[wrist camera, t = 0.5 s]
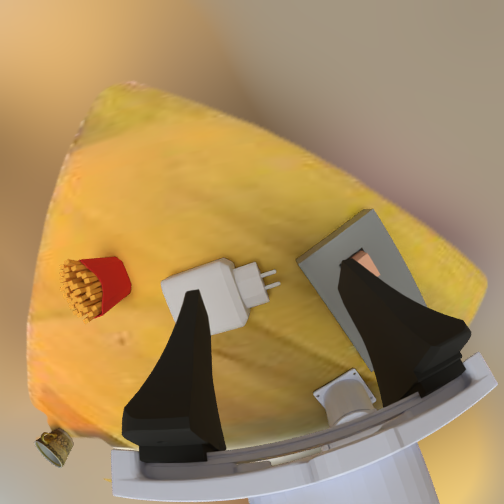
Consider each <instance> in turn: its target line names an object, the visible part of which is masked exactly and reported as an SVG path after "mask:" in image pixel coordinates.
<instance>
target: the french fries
mask: <svg viewBox="0 0 504 504" xmlns="http://www.w3.org/2000/svg"><path fill="white" fill-rule="evenodd" d="M60 269H61V270H64V271H62V272H60V273H59V274H60V277H62V278H60V282H61V283H63V282H66V283H64V284H63V287H60V289H61V292H62V291H64V293H65V294H63V298H64V299H65V298H68V297H71V298H68V299H67V302H68V303H71V304H70V305H69V307H70V309H73V308H77V309H75V310H73V314H74V315H76V314H77V316H78V317H81V316H83V315H85V314H88V317H86V318H85V319H84V320H83V321H84V323H85V324H86V323H88V322H90V321H91V320H92V319H93V318H97V317H100V316H103V315H104V314H105V313H106V312H107V311H109V310H110V309H111V308H112V307H114V306H115V305H116V304H117V303H118V302H120V301H121V300H122V299H123V298H125V297H126V296H127V295H128V294H130V291H131V282H130V279H129V277H128V274H127V272H126V269H125V267H124V265H123V262H122V261H121V260H119V259H118V258H117V257H106V258H94V259H82V260H79V261H75V260H69V259H68V260H66V261H64V264H62V265H60ZM64 276H65V277H64ZM72 291H73V292H72ZM69 292H70V293H69Z"/></svg>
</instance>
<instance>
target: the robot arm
mask: <svg viewBox="0 0 504 504" xmlns="http://www.w3.org/2000/svg"><path fill="white" fill-rule="evenodd" d="M338 291H339V294H340V296H341V299H342V301H343V304H344V306H345V308H346V310H347V312H348V313H349V315H350V317H351V319H352V321H353V323H354V325H355V326H356V328H357V330H358V332H359V334H360V336H361V338H362V340H363V342H364V344H365V346H366V349H367V352H368V354H369V357H370V360H371V363H372V366H373V369H374V372H375V375H376V379H377V382H378V386H379V390H380V394H381V399H382V403H383V408H382V409H380V410H377V409H376V408H375V409H374V407H373V405H372V404H373V403H374V402H375V401H376V398H375V397H374V395H373V394H372V393H371V391H370V390H369V388H368V387H367V385H366V384H365V382H364V381H363V379H362V378H361V377H360V375H359V374H358V372H357V371H356V369H354V368H353V369H351V370H349V371H348V372H346V373H344V374H343V375H341V376H340V377H338V378H336V379H335V380H333V381H332V382H330V383H328V384H327V385H325V386H323V387H321V388H320V389H318V390H316V391H315V392H314V393H313V395H314V396H315V398H316V399H317V400H318V401H319V402H320V403H321V404H322V406H323V407H324V408H325V409H326V413H327V418H328V422H329V427H330V428H328V429H325V430H322V431H318V432H315V433H311V434H308V435H304V436H300V437H296V438H292V439H288V440H284V441H279V442H275V443H270V444H265V445H259V446H254V447H248V448H241V449H234V450H227V451H225V450H226V445H225V441H224V437H223V432H222V428H221V423H220V418H219V414H218V408H217V403H216V397H215V391H214V385H213V377H212V356H211V332H210V325H209V318H208V314H207V311H206V308H205V305H204V302H203V299H202V296H201V293H200V290H199V289H196V290H191V291H187V292H186V293H185V296H184V300H183V304H182V307H181V310H180V313H179V316H178V318H177V321H176V324H175V327H174V329H173V332H172V334H171V336H170V338H169V341H168V343H167V345H166V347H165V349H164V351H163V353H162V355H161V357H160V359H159V361H158V362H157V364H156V366H155V367H154V369H153V371H152V372H151V374H150V375H149V377H148V378H147V380H146V381H145V382H144V384H143V385H142V387H141V388H140V389H139V391H138V392H137V393H136V394H135V396H134V397H133V398H132V399H131V400H130V401H129V403H128V404H127V405H126V406H125V407H124V412H123V418H122V435H123V437H124V438H125V439H127V440H129V441H131V442H132V443H134V444H136V445H138V446H139V451H134V450H120V449H112V450H111V463H112V464H111V467H112V468H111V469H112V489H113V490H112V491H113V495H114V496H117V497H124V498H132V499H141V500H151V501H168V502H202V501H203V502H205V501H221V500H233V499H241V498H248V500H249V504H440V503H439V500H438V497H437V494H436V492H435V488H434V486H433V483H432V480H431V477H430V474H429V472H428V469H427V467H426V464H425V461H424V458H423V456H422V454H421V451H420V448H419V446H418V444H417V442H418V441H419V440H421V439H423V438H425V437H426V436H428V435H430V434H432V433H433V432H435V431H436V430H438V429H439V428H441V427H443V426H444V425H446V424H447V423H449V422H450V421H452V420H453V419H455V418H456V417H458V416H459V415H460V414H462V413H463V412H465V411H466V410H467V409H469V408H470V407H471V406H473V405H474V404H475V403H477V402H478V401H479V400H480V399H482V398H483V397H484V396H485V395H487V394H488V393H489V392H490V391H491V390H492V389H494V388H495V387H496V386H497V384H498V383H497V381H496V380H495V378H494V376H493V374H492V372H491V371H490V369H489V367H488V366H487V364H486V362H485V361H484V359H483V357H482V355H481V354H480V352H477V353H475V354H474V355H472V356H471V357H469V358H468V359H466V360H465V361H464V362H463V363H462V361H461V360H460V359H461V358H462V354H461V353H460V351H461V349H462V348H463V347H464V345H465V344H466V343H467V342H468V340H469V338H470V337H471V331H470V329H469V328H468V327H467V325H466V324H465V322H464V321H463V320H461V319H457V318H454V317H450V316H447V315H444V314H442V313H439V312H437V311H434V310H432V309H430V308H427V307H425V306H423V305H421V304H419V303H417V302H415V301H413V300H412V299H410V298H408V297H406V296H405V295H403V294H401V293H400V292H398V291H397V290H395V289H394V288H392V287H391V286H389V285H388V284H386V283H385V282H384V281H382V280H381V279H380V278H378V277H377V276H376V275H374V274H373V273H372V272H370V271H369V270H368V269H366V268H365V267H364V266H362V265H361V264H360V263H358V262H357V261H356V260H354V259H353V258H350V259H346V260H342V263H341V270H340V277H339V283H338ZM353 373H355V374H353ZM317 395H319V396H317ZM370 397H371V398H370ZM320 446H321V449H322V452H320V453H317V454H314V455H311V456H308V457H304V458H301V459H298V460H294V461H290V462H287V463H283V464H279V465H275V466H272V465H271V462H270V461H262V460H267V459H272V458H277V457H282V456H286V455H290V454H295V453H299V452H302V451H306V450H310V449H313V448H317V447H320ZM256 461H262V462H256ZM250 462H251V463H250ZM237 464H238V465H237Z"/></svg>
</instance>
